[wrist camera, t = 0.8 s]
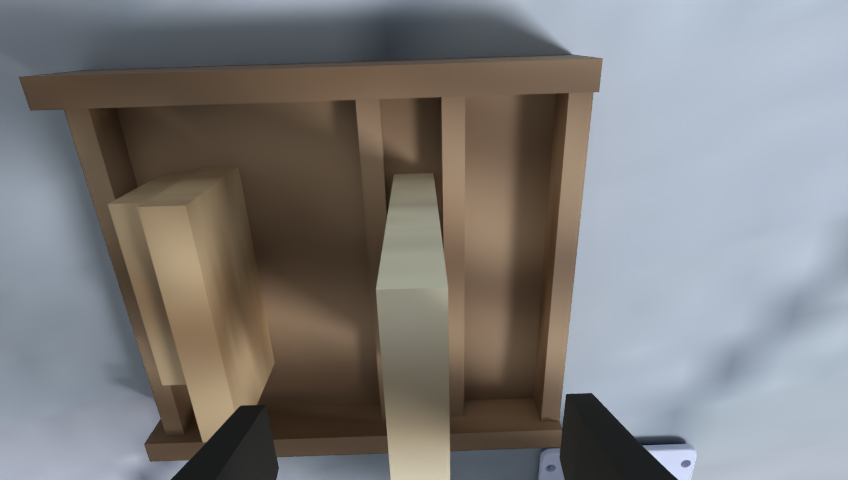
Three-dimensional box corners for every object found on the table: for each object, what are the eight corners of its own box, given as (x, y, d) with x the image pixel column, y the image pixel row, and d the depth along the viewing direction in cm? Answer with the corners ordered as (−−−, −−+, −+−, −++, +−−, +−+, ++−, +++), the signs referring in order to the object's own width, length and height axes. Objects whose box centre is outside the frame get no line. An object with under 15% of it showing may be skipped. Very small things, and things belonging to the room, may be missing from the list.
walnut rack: (543, 399, 24) (560, 447, 21) (180, 411, 24) (150, 461, 21) (573, 54, 18) (602, 58, 15) (81, 70, 18) (18, 76, 15)
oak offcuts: (274, 363, 22) (241, 441, 17) (210, 365, 22) (161, 443, 17) (238, 166, 18) (185, 205, 14) (161, 168, 18) (85, 208, 14)
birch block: (437, 348, 21) (450, 546, 13) (403, 349, 21) (395, 547, 13) (433, 173, 18) (448, 287, 10) (393, 174, 18) (376, 289, 10)
